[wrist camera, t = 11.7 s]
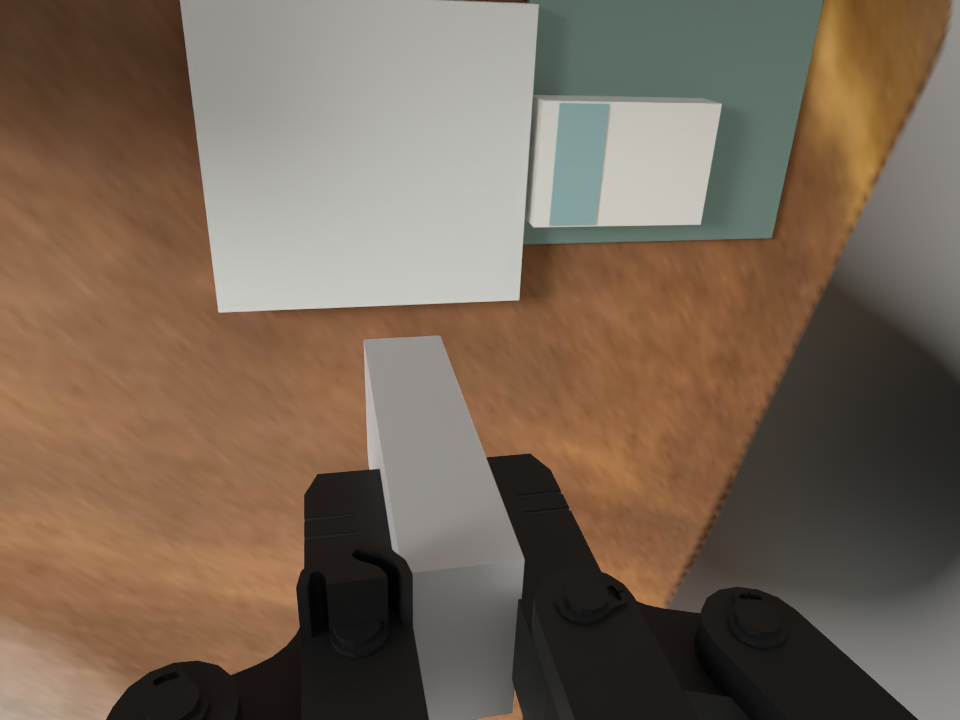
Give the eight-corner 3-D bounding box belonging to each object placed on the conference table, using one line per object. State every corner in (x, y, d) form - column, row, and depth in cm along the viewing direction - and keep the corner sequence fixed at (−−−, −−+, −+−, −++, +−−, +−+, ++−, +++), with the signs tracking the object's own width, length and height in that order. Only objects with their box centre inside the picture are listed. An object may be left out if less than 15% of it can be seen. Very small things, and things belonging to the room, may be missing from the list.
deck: (185, -11, 32) (178, -10, 30) (527, 3, 35) (538, 4, 33) (222, 297, 38) (218, 312, 36) (510, 286, 41) (519, 300, 39)
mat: (530, -59, 34) (533, -59, 34) (827, -42, 37) (832, -43, 36) (512, 242, 40) (514, 244, 40) (767, 236, 43) (771, 238, 43)
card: (531, 94, 36) (543, 100, 35) (703, 98, 38) (723, 104, 36) (523, 216, 39) (533, 228, 37) (683, 214, 41) (701, 225, 39)
